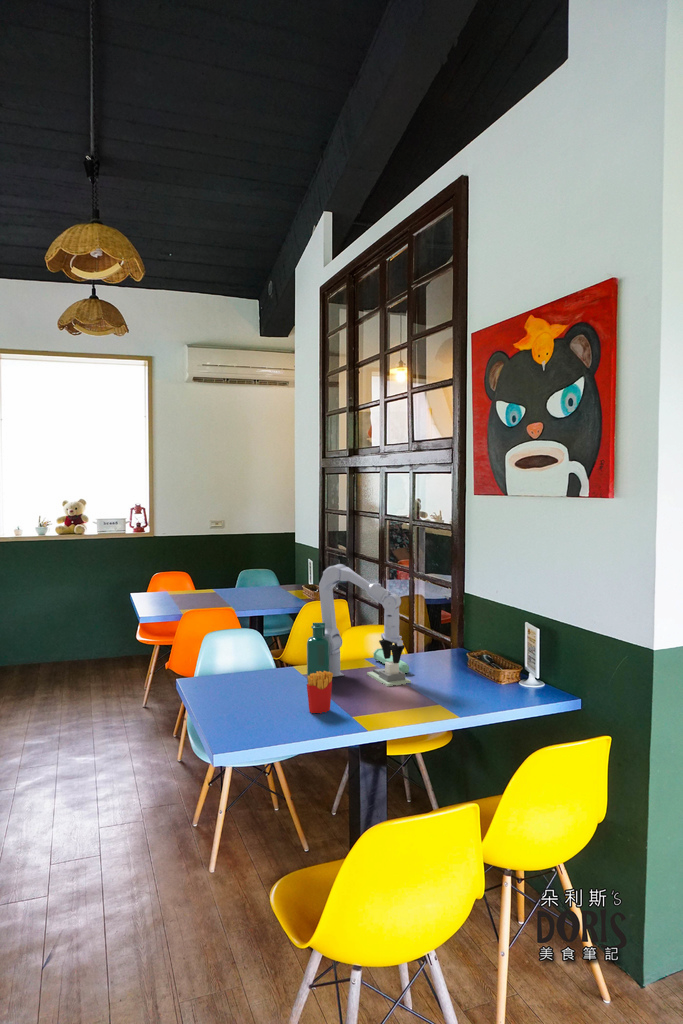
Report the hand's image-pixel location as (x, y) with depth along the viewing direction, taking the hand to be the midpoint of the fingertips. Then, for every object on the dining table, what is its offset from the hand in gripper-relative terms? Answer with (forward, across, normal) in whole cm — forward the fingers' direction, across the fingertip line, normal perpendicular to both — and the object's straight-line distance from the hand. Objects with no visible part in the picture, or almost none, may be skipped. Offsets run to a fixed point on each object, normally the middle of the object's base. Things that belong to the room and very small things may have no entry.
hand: (391, 660), depth 264 cm
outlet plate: (+8, +3, 0) cm, 8 cm away
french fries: (+8, -22, +38) cm, 45 cm away
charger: (+7, 0, 0) cm, 7 cm away
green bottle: (+8, +11, +26) cm, 29 cm away
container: (+8, +18, -9) cm, 22 cm away
